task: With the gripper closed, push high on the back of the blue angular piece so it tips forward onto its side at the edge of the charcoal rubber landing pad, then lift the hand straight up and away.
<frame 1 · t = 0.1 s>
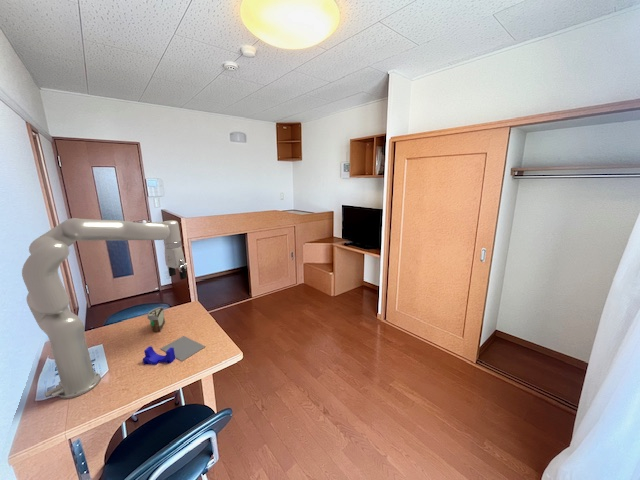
hand: (178, 277, 134), 31 cm above the table, tool pointing down, fingers open, 9 cm apart
landing pad: (183, 347, 126), on the table
food container: (156, 328, 144), on the table
blue angular piece: (160, 362, 117), on the table
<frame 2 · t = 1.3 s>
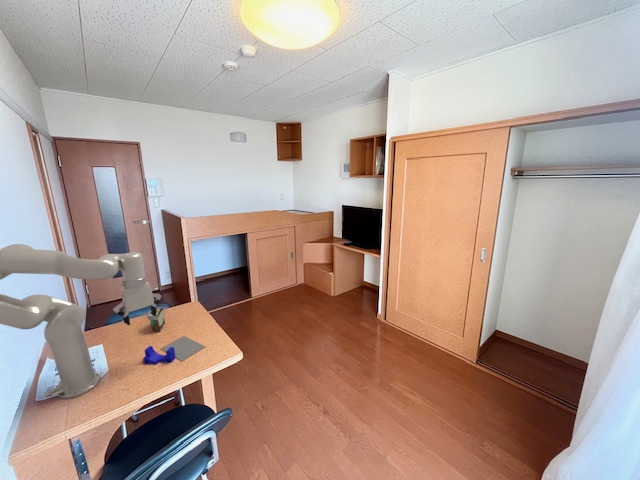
hand: (141, 319, 111), 22 cm above the table, tool pointing down, fingers open, 9 cm apart
nothing on the table moved.
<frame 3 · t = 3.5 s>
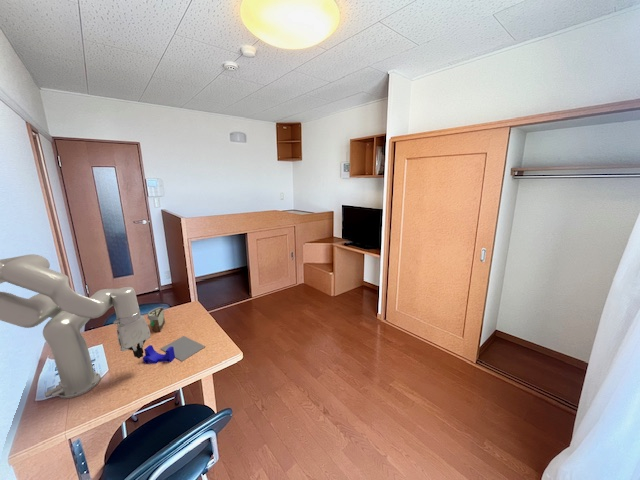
hand: (139, 356, 109), 8 cm above the table, tool pointing down, fingers closed
nothing on the table moved.
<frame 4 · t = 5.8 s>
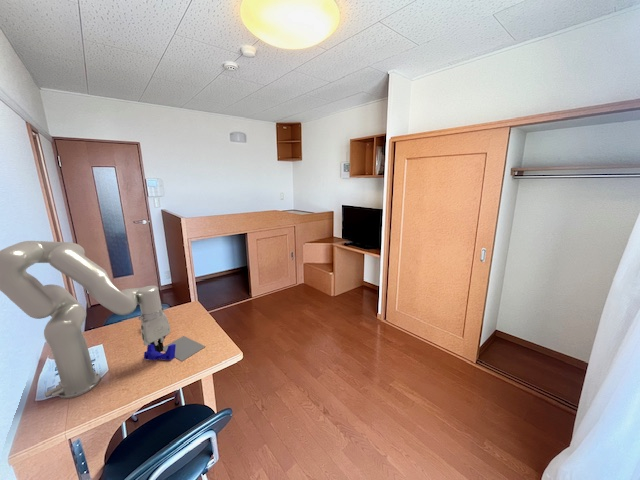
hand: (159, 350, 116), 5 cm above the table, tool pointing down, fingers closed
blue angular piece: (159, 358, 118), on the table, touching gripper
everything else where it was.
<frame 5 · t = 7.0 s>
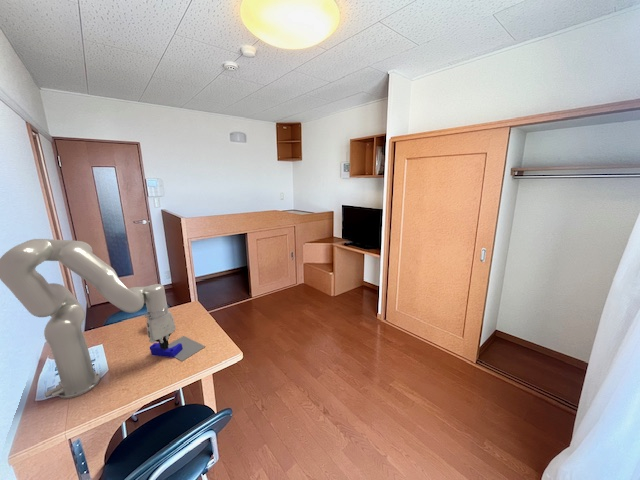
hand: (164, 348, 118), 5 cm above the table, tool pointing down, fingers closed
blue angular piece: (161, 352, 119), point 2 cm above the table, touching landing pad
everything else where it was.
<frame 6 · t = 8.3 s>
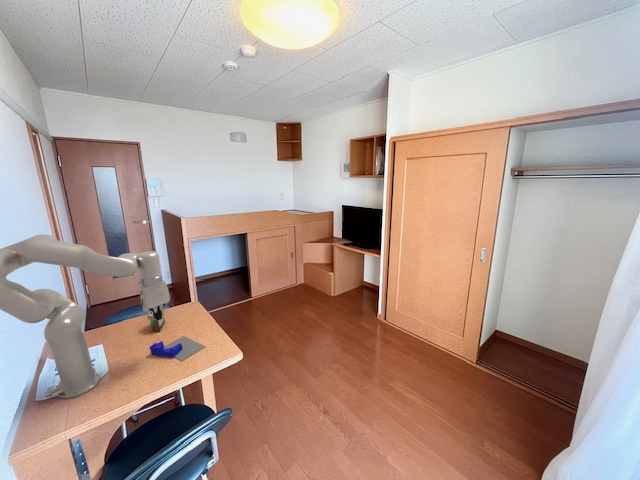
hand: (158, 318, 114), 20 cm above the table, tool pointing down, fingers closed
nothing on the table moved.
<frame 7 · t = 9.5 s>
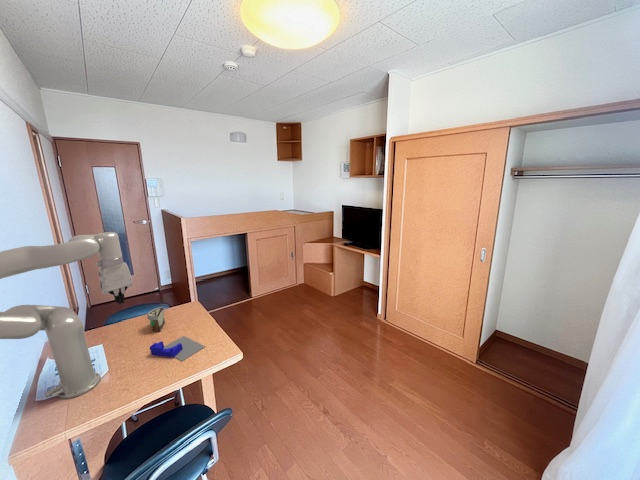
hand: (120, 302, 111), 29 cm above the table, tool pointing down, fingers closed
nothing on the table moved.
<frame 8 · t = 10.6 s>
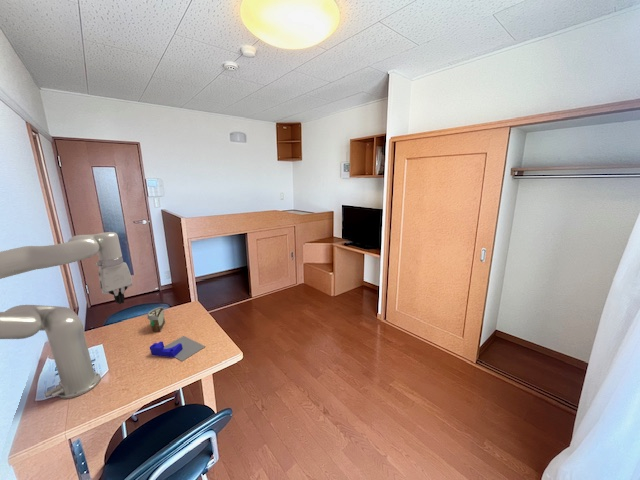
hand: (120, 302, 111), 29 cm above the table, tool pointing down, fingers closed
nothing on the table moved.
at the end: blue angular piece tilted 86°; blue angular piece inside the target area (3.6 cm from its centre), point 2.4 cm above the table; the gripper is holding nothing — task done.
